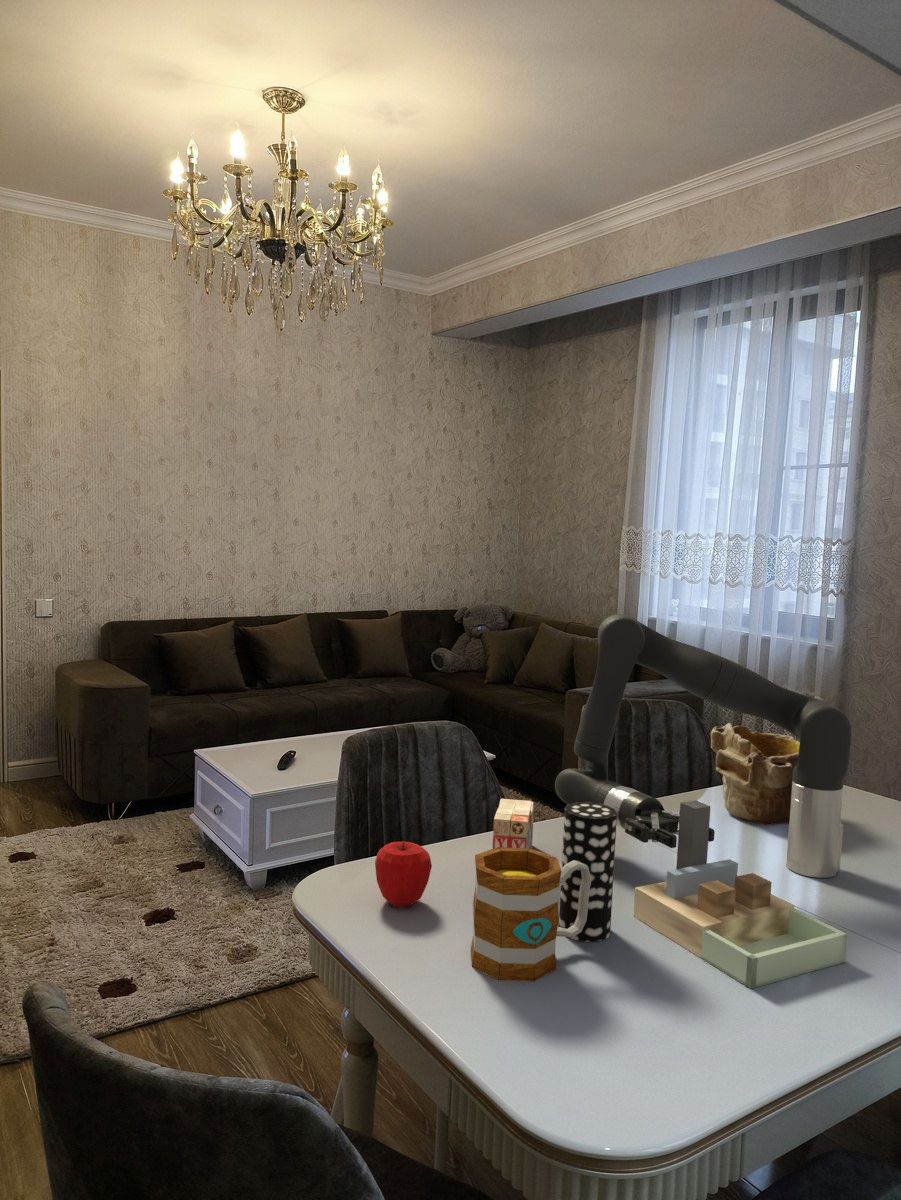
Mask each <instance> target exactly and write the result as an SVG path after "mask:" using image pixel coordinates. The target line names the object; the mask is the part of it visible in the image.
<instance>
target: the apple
mask: <svg viewBox="0 0 901 1200" xmlns="http://www.w3.org/2000/svg"><path fill="white" fill-rule="evenodd" d="M374 867H375V877H376V883H377V886H378V888H379V890H380V893H381V895H382V897H383V899H385V901H387V902H388V903H389V904H390V905H391V906H393V907H395V908H399V909H401V908H402V909H403V908H407V907H408V908H409V906H412V905H413V904H415V903H416V902H418V901H419V900H421V898H422V896H423V894H424V891H425V890H426V888H427V885H428V883H429V879H430V877H431V876H430V875H431V872H432V867H433V865H432V860H431V856H430V853H429V851H427V850H426V849H425V848H424V847H423V846H422V845H419V844H417V843H414V842H411V841H393V842H390V843H387V844H385V845H384V846H383V847H381V848H380V849H379V851H378V852H377V854H376V857H375V860H374Z"/></svg>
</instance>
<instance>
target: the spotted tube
mask: <svg viewBox="0 0 901 1200" xmlns="http://www.w3.org/2000/svg"><path fill="white" fill-rule="evenodd" d="M616 822H617V811H616V810H615V809H613V808H612V807H609V806H607V805H603V804H598V803H591V802H577V803H571V804H566V805H565V807H564V816H563V834H562V835H563V836H562V837H563V838H562V857H561V869H562V868H563V867H564V865H565V864H567V863H569V862H571V861H573V860H575V861H578V862H580V863H583V864H586V865H587V866H588V868H589V872H590V876H591V885H590V891H589V900H588V912H587V920H586V923H585V925H584V927H583V929H582V932H581V933H579V934H577V935H576V936H574V937H573V938H572V937H568V939H572V940H575V941H579V942H585V943H586V942H587V943H590V942H591V943H595V942H601V941H604V940H607V938H609V936H611V928H612V927H611V926H612V925H611V924H612V907H613V890H614V889H613V887H614V876H615V875H614V873H615V872H614V870H615V854H616V838H617V837H616V836H617V835H616V834H617V825H616ZM581 880H582V875H581V869H580V868H578V869H577V870H575V871H573V872H572V873H571V874H570V876H569V877H568V878H567V879H566V880H565V881H564V882H563V883H561V884H560V892H559V893H560V894H559V909H558V914H559V922H558V927H561V928H565V929H568V928H570V927H571V926H573V925H574V923H575V920H576V918H577V914H578V901H579V891H580V885H581Z"/></svg>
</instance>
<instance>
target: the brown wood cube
mask: <svg viewBox="0 0 901 1200" xmlns="http://www.w3.org/2000/svg"><path fill="white" fill-rule="evenodd" d="M734 889H735V890H736V892H735V901H736V902H738V903H740V904H742V905H744V906H746V907H748V908H750V909H752V910H754V909H758V908H762V907H767V906H770V898H771V894H772V881H770V880H769V879H767V878H764V877H762V876H760V875H758V874H755V873H753V872H751V873H747V874H743V875H737V876H736V877H735V888H734Z"/></svg>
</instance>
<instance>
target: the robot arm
mask: <svg viewBox="0 0 901 1200" xmlns="http://www.w3.org/2000/svg"><path fill="white" fill-rule="evenodd" d="M597 643H598V652H597V653H598V655H597V663H596V665H597V666H596V670H595V675H594V681H593V684H592V687H591V690H590V694H589V696H588V698H587V702H586V704H585V706H584V709H583V712H582V716H581V718H580V722H579V726H578V729H577V734H576V737H575V740H574V744H573V745H574V746H573V752H574V755H576V756H577V757H578V758H580V759H582V760H585V761H586V768H585V769H582V768H566V769H563V770H562V771H560V772H559V773H558V775H557V776H556V778H555V781H554V789H555V793H556V795H557V797H558V798H559V799H560V800H561V802H564V803H565V804H566V805H568V804H571V803H577V802H591V803H598V804H603V805H607V806H609V807H612V808H613V809H615V810H616V811H617V822H616V827H619V828H621V829H623V830H624V833H625V834H627V835H629V836H630V837H632V838H634V839H636V840H638V841H640V842H642V843H645V844H646V843H649V841H651V842H652V843H660V844H662V845H663V846H666V847H668V848H670V849H674V848H677V843H678V837H677V836H678V834H679V818H680V810H679V812H678V813H673V812H672V811H670V810H666V809H665V808H664V806H663V804H662V802H660V800H659V799H657V798H655V797H652V796H651V795H648V794H645V793H643V792H641V791H638V790H636V789H634V788H631V787H628V786H627V787H626V786H623V784H619V783H618V782H614V781H612V780H609V752H610V749H611V746H612V745H611V744H612V742H613V739H614V733H615V731H616V726H617V721H618V717H619V712H620V709H621V704H622V700H623V696H624V693H625V691H626V687H627V685H628V681H629V679H630V676H631V674H632V672H633V669H634V667H635V665H639V666H642V667H644V668H647V669H649V670H652V671H655V672H656V673H659V674H660V675H662V676H663V677H665V678H667V679H668V680H669V681H671V682H673V683H674V684H676V685H678V686H679V687H680V688H682V689H684V690H685V691H687V692H688V693H691V694H693V696H696V697H698V698H700V699H703V700H705V701H707V702H709V703H710V704H714V705H715V706H718V707H720V708H724V709H726V710H730V711H732V712H737V713H739V714H744V715H748V716H753V717H756V718H760V719H764V720H766V721H767V722H770V723H772V724H774V725H776V726H778V727H780V728H782V729H784V730H785V731H787V732H789V733H791V734H792V735H793V736H795V737H797V738H798V739H799V742H800V744H799V755H798V762H797V765H796V766H795V767H794V769H793V779H792V793H791V808H790V821H789V822H788V823H789V824H788V837H787V849H786V850H787V851H786V863H785V864H786V867H787V868H788V869H789V870H790V871H792V872H793V873H796V874H799V875H802V876H805V877H810V878H811V877H812V878H816V879H817V878H818V879H820V878H821V879H827V878H832V877H835V876H836V875H837V872H840V869H841V857H842V846H843V845H842V843H843V834H844V833H843V832H844V825H843V823H841V821H842V820H841V819H842V810H843V809H842V808H843V793H844V781H845V778H846V776H847V775H848V770H849V765H850V764H849V763H850V755H851V754H850V753H851V745H852V743H851V742H852V726H851V722H850V720H849V718H848V716H847V715H846V714H845V713H844V712H843V711H842V710H840V709H839V708H838V707H836V706H835V705H833V704H831V703H830V702H828V701H826V700H821V699H818V698H815V697H812V696H809V695H805V694H801V693H799V692H795V691H794V690H790V689H787V688H785V687H782V686H780V685H778V684H776V683H774V682H773V681H771V680H769V679H767V678H766V677H764V676H763V675H761V674H760V673H757V672H755V671H754V670H751V669H750V668H747V667H745V666H744V665H742V664H740V663H737V662H734V661H733V660H730V659H728V658H727V657H724V656H721V655H719V654H716V653H714V652H711V651H709V650H706V649H703V648H699V647H697V646H695V645H691V644H687V643H684V642H682V641H678V640H675V639H672V638H670V637H668V636H667V635H666V636H665V635H663V634H662V633H659V632H658V631H657V630H654V629H652V628H650V626H647V625H646V624H644V623H642V622H640V621H639V620H638V619H636V618H634V617H633V616H631V615H628V614H624V613H623V614H622V613H618V614H612V615H610V616H608V617H607V618H605V619H604V620H603V621H602V622H601V623H600V625H599V628H598V629H597ZM714 841H715V829H714V828H712V827H710V826H709V837H708V843H710V842H714Z"/></svg>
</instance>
